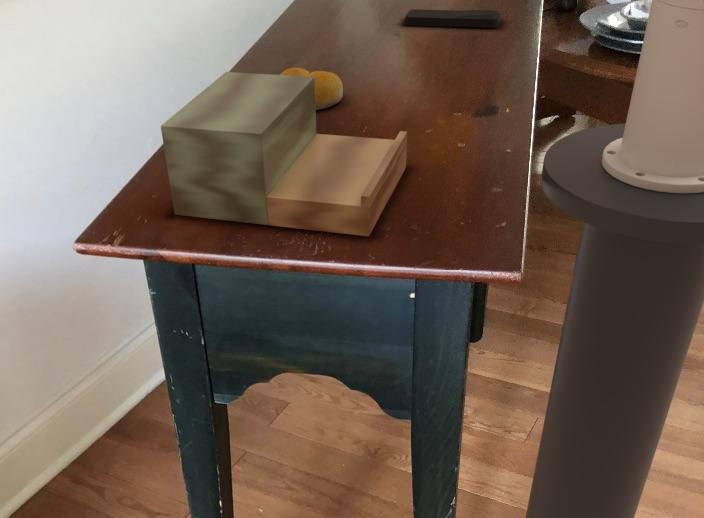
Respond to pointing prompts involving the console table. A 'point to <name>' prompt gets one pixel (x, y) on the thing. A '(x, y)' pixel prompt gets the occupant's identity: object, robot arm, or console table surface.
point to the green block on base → (275, 159)
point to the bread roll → (321, 86)
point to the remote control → (453, 18)
